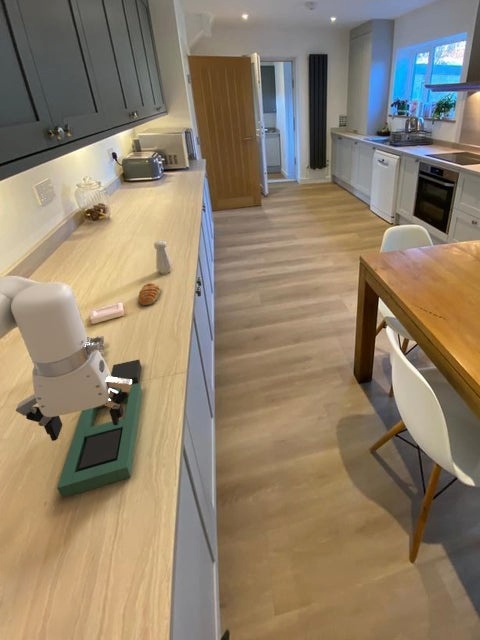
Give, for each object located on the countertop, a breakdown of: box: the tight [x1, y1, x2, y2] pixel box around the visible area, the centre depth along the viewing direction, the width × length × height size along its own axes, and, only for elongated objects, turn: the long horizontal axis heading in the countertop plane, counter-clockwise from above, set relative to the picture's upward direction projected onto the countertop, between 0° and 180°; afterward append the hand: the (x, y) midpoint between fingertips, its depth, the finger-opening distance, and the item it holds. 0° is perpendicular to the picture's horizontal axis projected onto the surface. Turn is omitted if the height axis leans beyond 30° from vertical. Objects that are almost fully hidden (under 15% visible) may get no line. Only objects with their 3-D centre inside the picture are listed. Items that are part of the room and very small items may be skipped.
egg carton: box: [89, 335, 105, 357], centre depth 86 cm, size 11×8×4 cm
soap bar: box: [89, 302, 125, 325], centre depth 103 cm, size 5×9×2 cm, turn 120°
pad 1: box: [79, 429, 122, 471], centre depth 63 cm, size 6×6×3 cm
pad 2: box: [109, 359, 142, 389], centre depth 80 cm, size 6×6×3 cm
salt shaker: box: [153, 240, 173, 275], centre depth 127 cm, size 6×6×13 cm
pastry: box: [138, 282, 161, 306], centre depth 112 cm, size 9×7×4 cm
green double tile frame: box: [56, 382, 143, 499], centre depth 66 cm, size 11×20×3 cm, turn 18°
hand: (88, 425), depth 59 cm, fingers open, 9 cm apart
